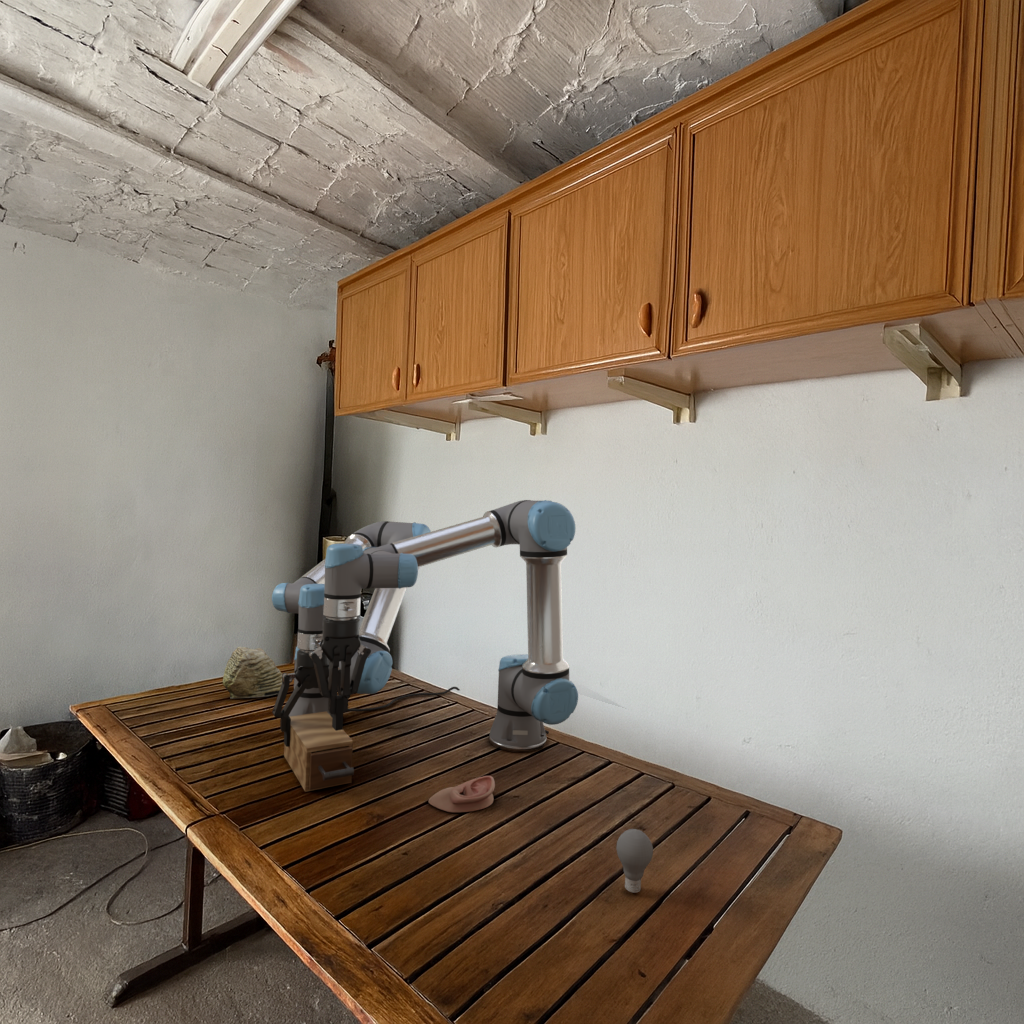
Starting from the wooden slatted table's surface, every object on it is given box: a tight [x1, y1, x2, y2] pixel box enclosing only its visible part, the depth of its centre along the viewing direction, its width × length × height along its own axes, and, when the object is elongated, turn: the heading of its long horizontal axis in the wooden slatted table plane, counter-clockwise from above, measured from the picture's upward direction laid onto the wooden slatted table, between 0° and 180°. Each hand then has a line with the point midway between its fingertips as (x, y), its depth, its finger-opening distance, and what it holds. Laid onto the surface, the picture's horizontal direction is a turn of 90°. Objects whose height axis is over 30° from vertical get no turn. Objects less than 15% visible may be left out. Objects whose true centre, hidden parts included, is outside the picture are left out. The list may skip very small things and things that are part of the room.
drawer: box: [309, 746, 355, 791], centre depth 143 cm, size 26×9×8 cm, turn 32°
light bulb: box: [615, 828, 654, 894], centre depth 106 cm, size 6×6×10 cm
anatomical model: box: [427, 775, 496, 813], centre depth 134 cm, size 13×4×12 cm
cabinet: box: [283, 711, 354, 793], centre depth 147 cm, size 21×10×9 cm, turn 32°
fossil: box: [222, 646, 283, 699], centre depth 198 cm, size 9×18×15 cm, turn 132°
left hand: (310, 740), depth 152 cm, fingers closed on cabinet, 10 cm apart
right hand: (337, 727), depth 134 cm, fingers closed
